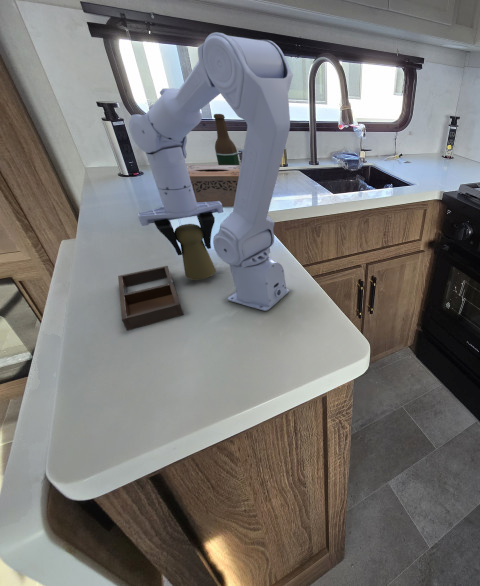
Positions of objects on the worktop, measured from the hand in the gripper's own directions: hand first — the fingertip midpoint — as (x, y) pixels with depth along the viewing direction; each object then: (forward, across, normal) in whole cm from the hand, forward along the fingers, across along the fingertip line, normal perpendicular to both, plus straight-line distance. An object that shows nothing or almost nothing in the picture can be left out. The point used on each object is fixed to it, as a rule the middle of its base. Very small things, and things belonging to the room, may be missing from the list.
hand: (194, 250), depth 70 cm
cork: (+6, 0, 0) cm, 6 cm away
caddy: (+7, +10, +4) cm, 13 cm away
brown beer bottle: (+6, -28, -71) cm, 77 cm away
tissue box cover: (+7, -18, -50) cm, 54 cm away
